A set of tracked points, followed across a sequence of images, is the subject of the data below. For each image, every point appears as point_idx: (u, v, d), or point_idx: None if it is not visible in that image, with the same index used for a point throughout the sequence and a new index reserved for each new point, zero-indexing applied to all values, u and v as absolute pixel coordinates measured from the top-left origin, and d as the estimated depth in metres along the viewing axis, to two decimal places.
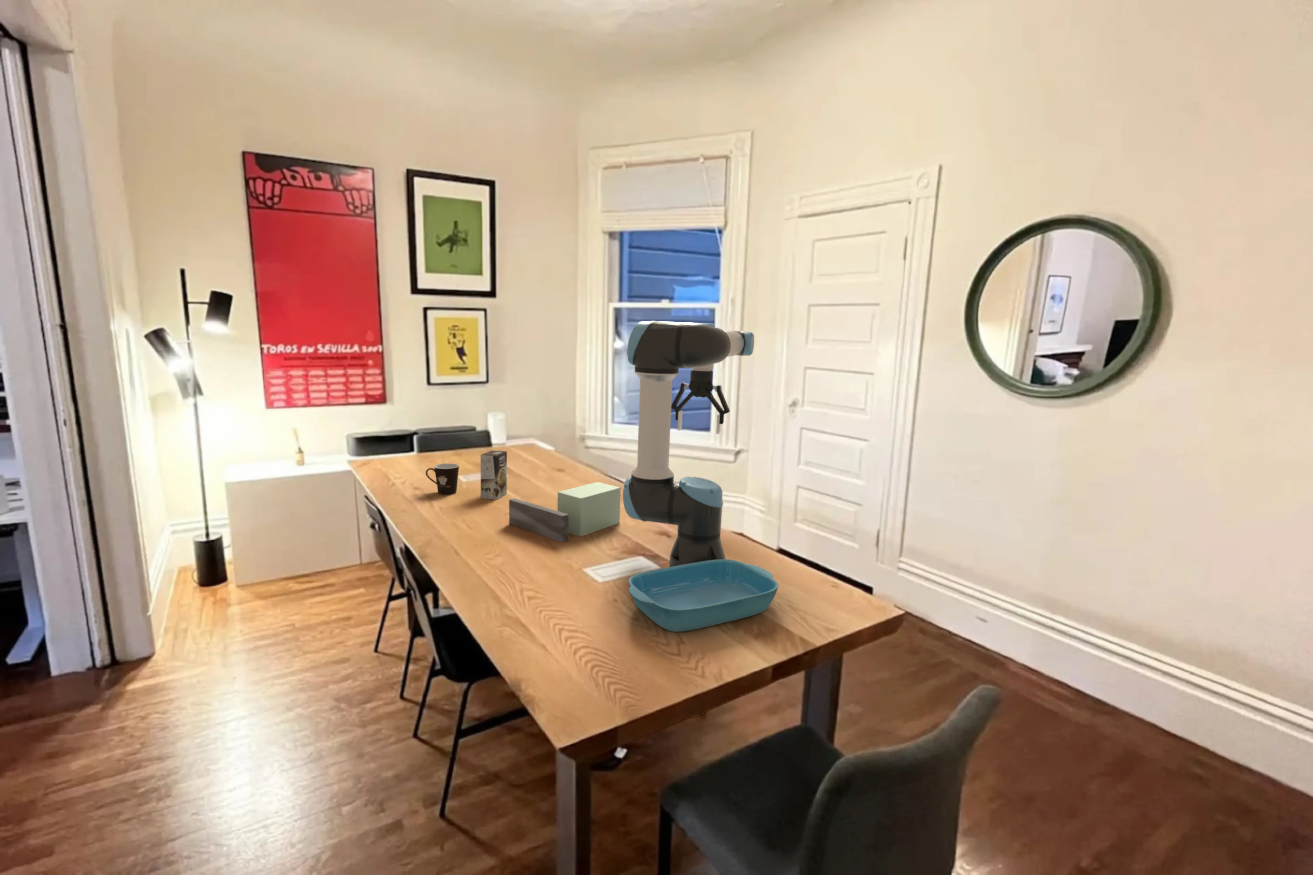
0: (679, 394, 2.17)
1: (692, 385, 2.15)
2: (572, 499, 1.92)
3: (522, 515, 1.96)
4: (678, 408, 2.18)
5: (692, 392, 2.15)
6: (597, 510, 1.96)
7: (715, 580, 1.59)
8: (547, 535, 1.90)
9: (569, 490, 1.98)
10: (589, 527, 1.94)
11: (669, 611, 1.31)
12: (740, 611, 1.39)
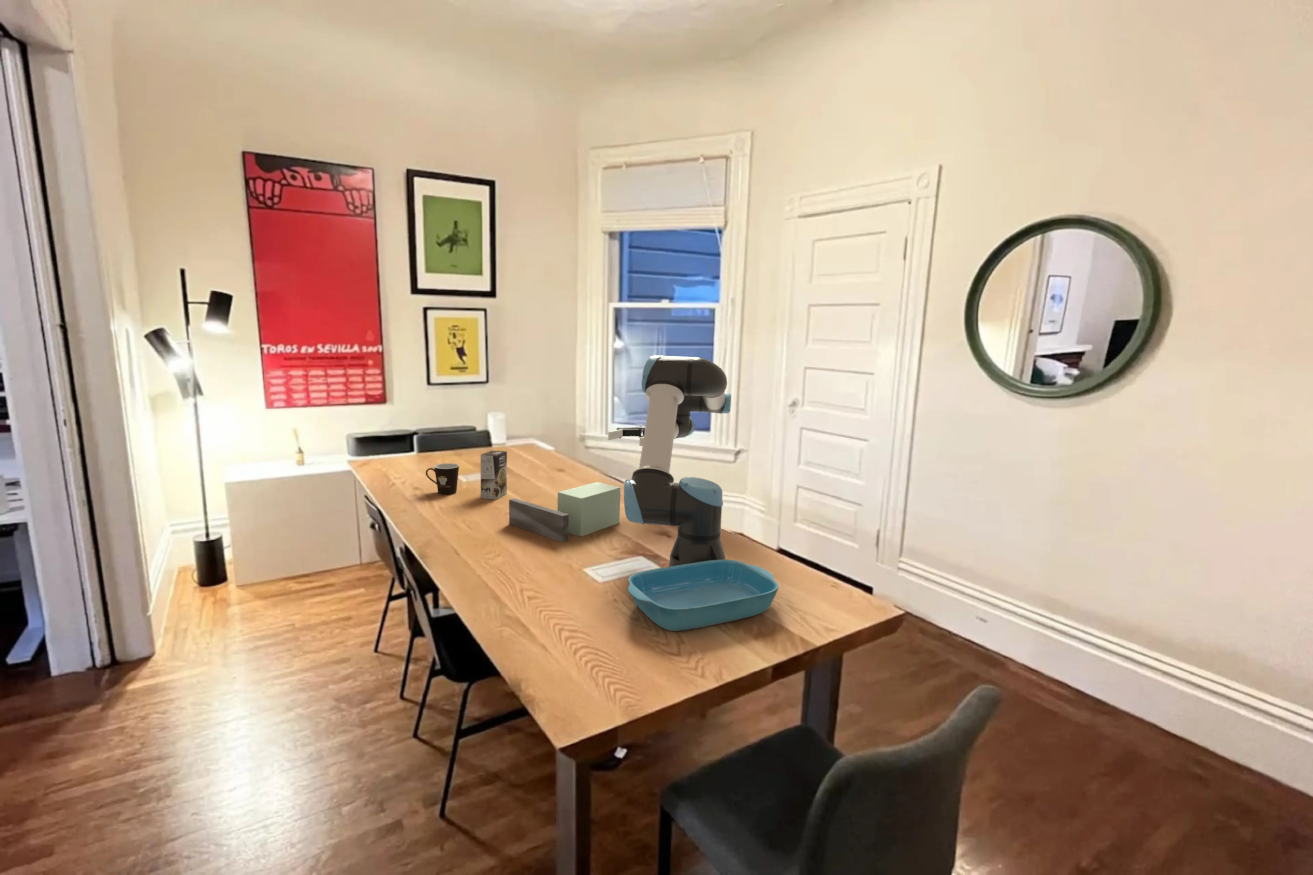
0: (632, 427, 2.23)
1: None
2: (572, 499, 1.92)
3: (522, 515, 1.96)
4: (622, 429, 2.19)
5: (644, 427, 2.21)
6: (598, 510, 1.96)
7: (717, 580, 1.59)
8: (547, 535, 1.90)
9: (569, 490, 1.98)
10: (589, 527, 1.94)
11: (666, 610, 1.31)
12: (738, 611, 1.39)
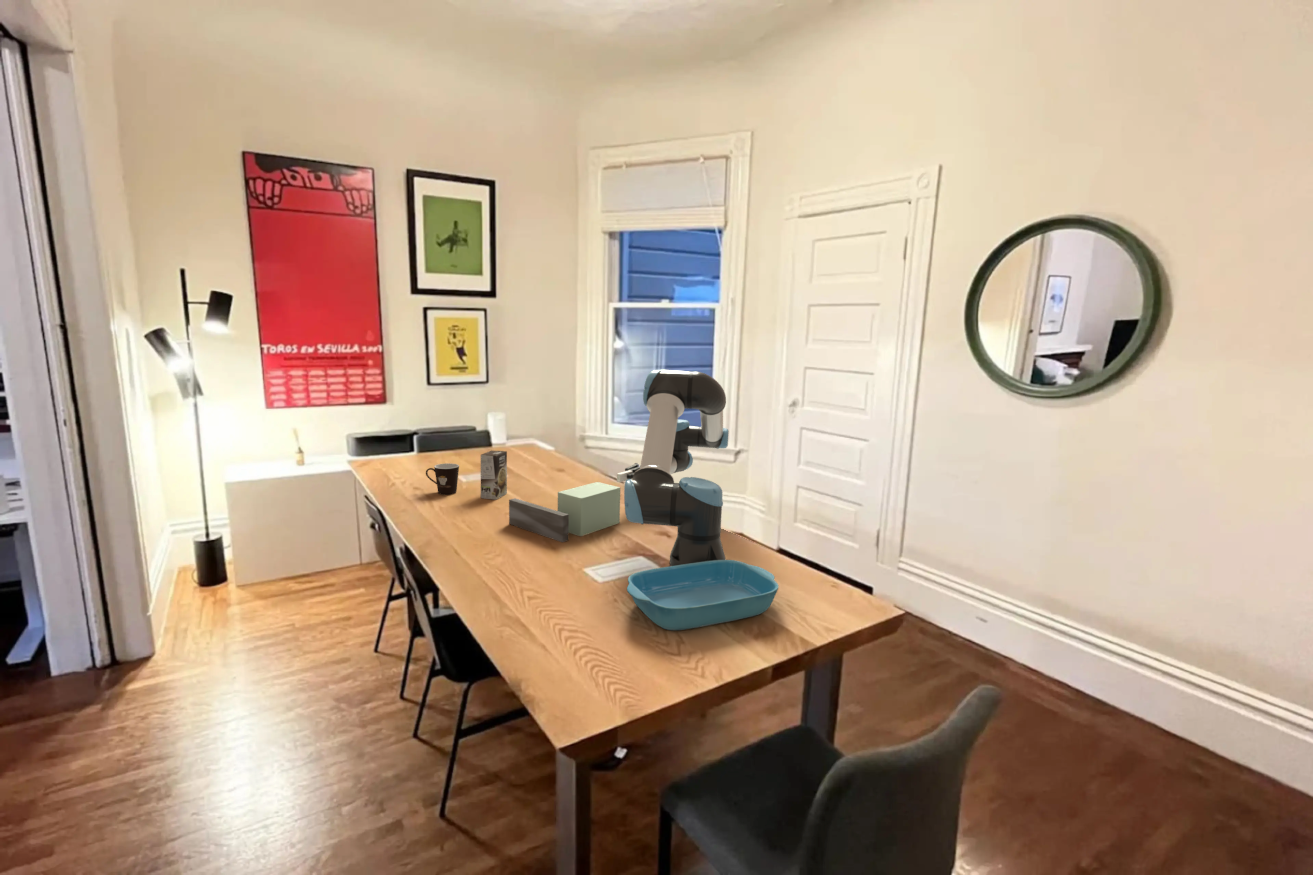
0: (633, 465, 2.23)
1: None
2: (572, 499, 1.92)
3: (522, 515, 1.96)
4: (631, 469, 2.17)
5: None
6: (598, 510, 1.96)
7: (718, 581, 1.58)
8: (547, 535, 1.90)
9: (569, 490, 1.98)
10: (589, 527, 1.95)
11: (664, 609, 1.31)
12: (737, 612, 1.39)
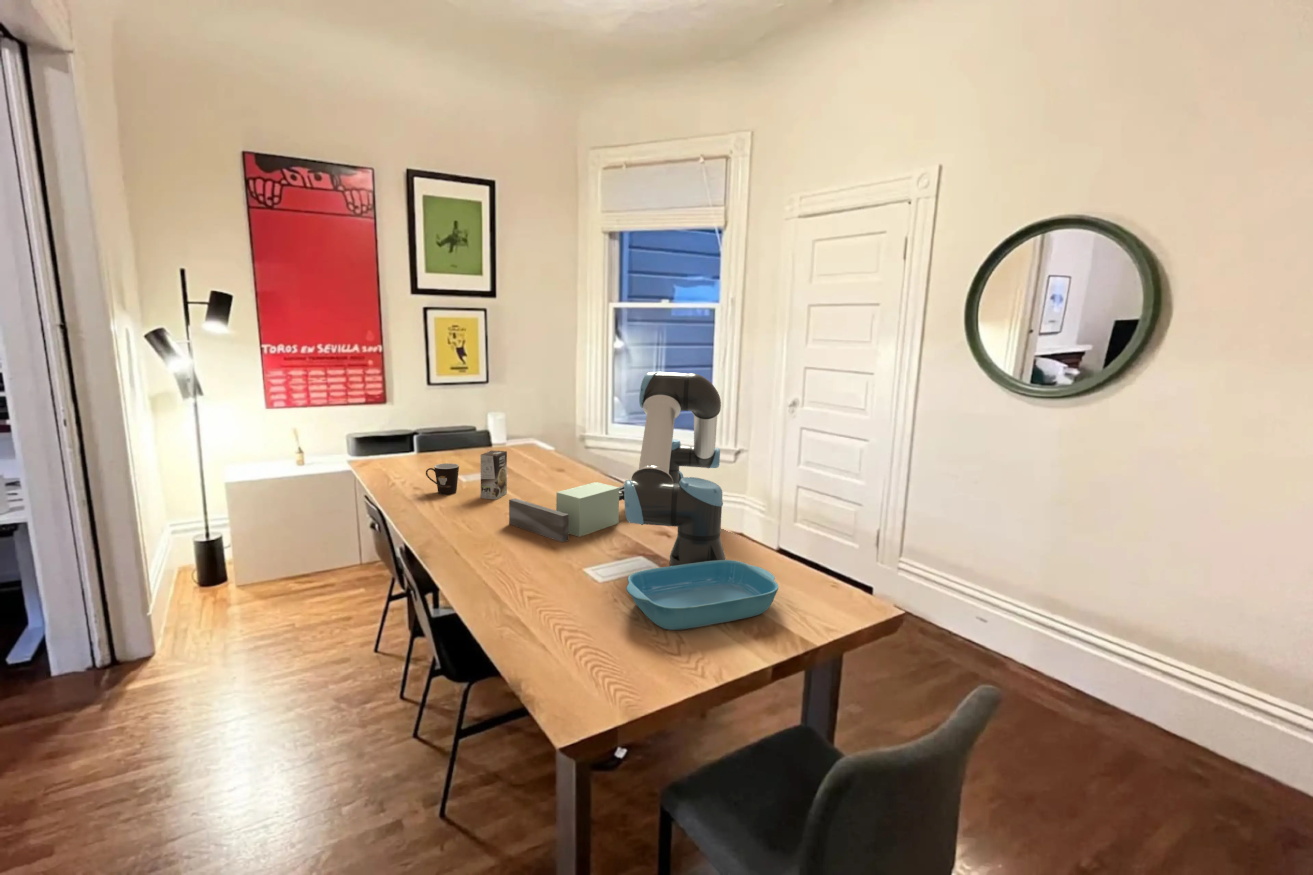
0: (623, 486, 2.20)
1: None
2: (571, 499, 1.91)
3: (522, 515, 1.96)
4: (620, 490, 2.14)
5: None
6: (596, 510, 1.96)
7: (718, 581, 1.58)
8: (547, 535, 1.90)
9: (568, 490, 1.97)
10: (588, 527, 1.94)
11: (663, 609, 1.32)
12: (737, 612, 1.38)
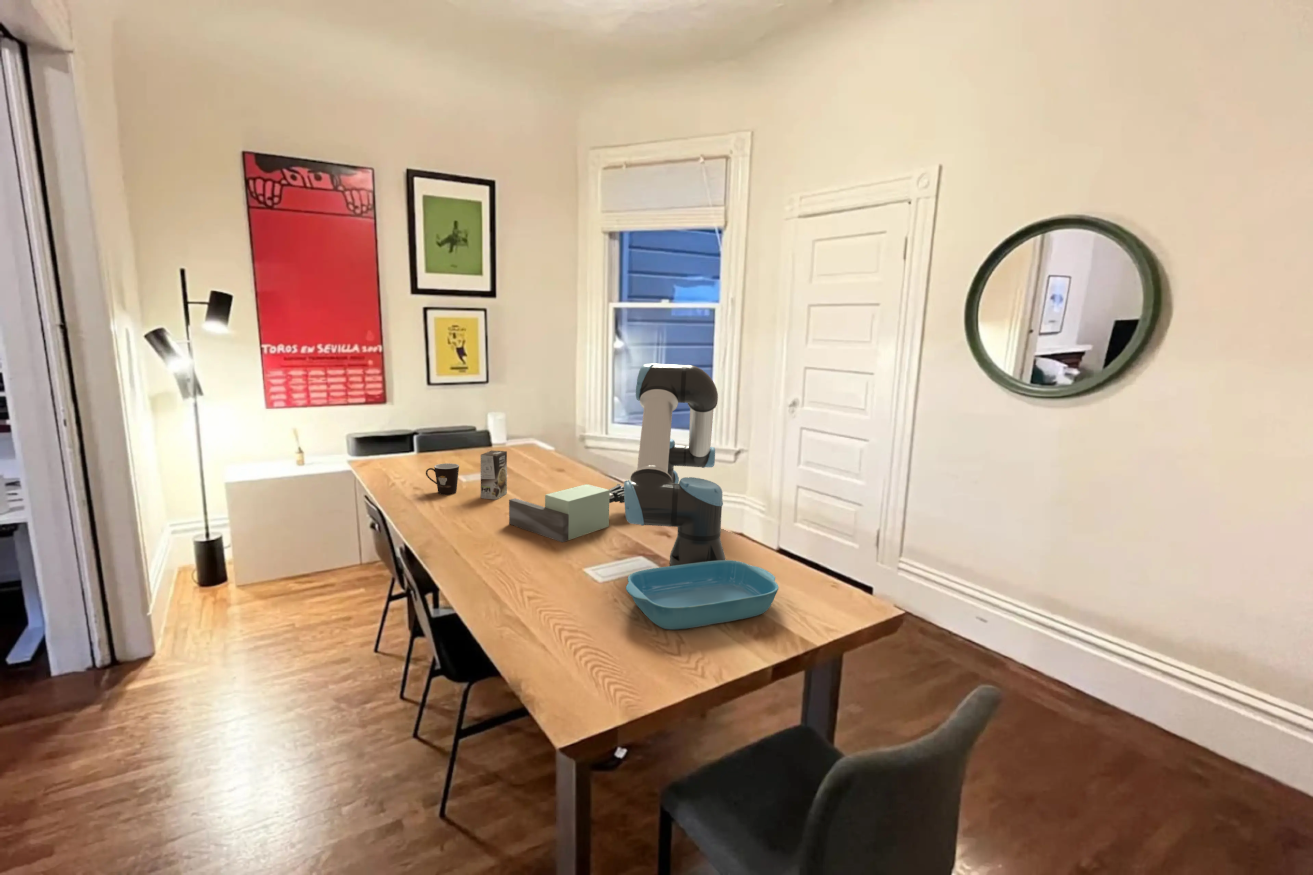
0: (615, 487, 2.16)
1: None
2: (559, 502, 1.88)
3: (522, 515, 1.96)
4: (611, 492, 2.10)
5: None
6: (586, 513, 1.93)
7: (719, 581, 1.58)
8: (547, 535, 1.90)
9: (557, 493, 1.94)
10: (577, 531, 1.91)
11: (661, 608, 1.32)
12: (736, 612, 1.38)
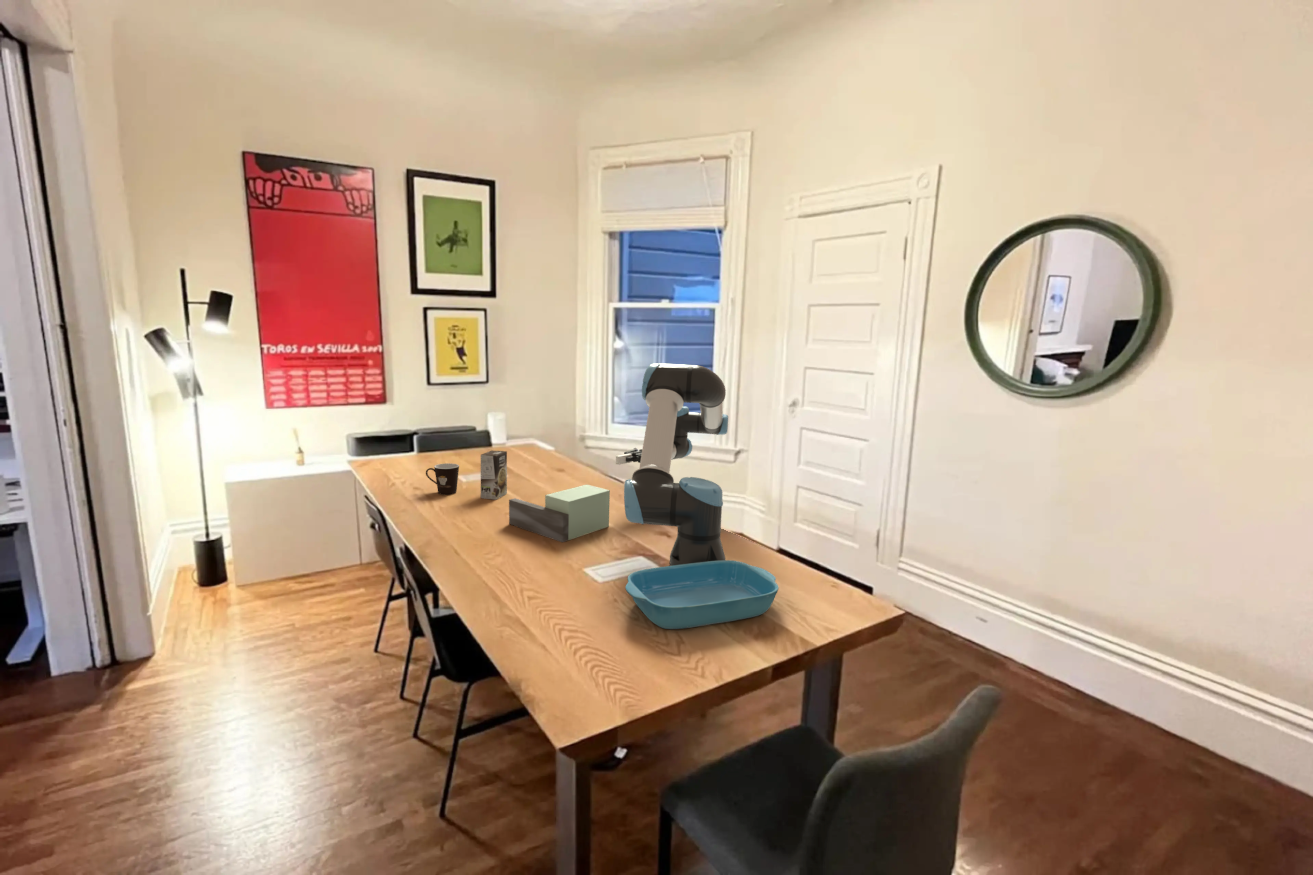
0: (632, 450, 2.21)
1: None
2: (560, 502, 1.88)
3: (522, 515, 1.96)
4: (630, 453, 2.15)
5: None
6: (586, 513, 1.93)
7: (720, 581, 1.58)
8: (547, 535, 1.90)
9: (557, 493, 1.94)
10: (577, 531, 1.91)
11: (660, 608, 1.32)
12: (735, 612, 1.38)
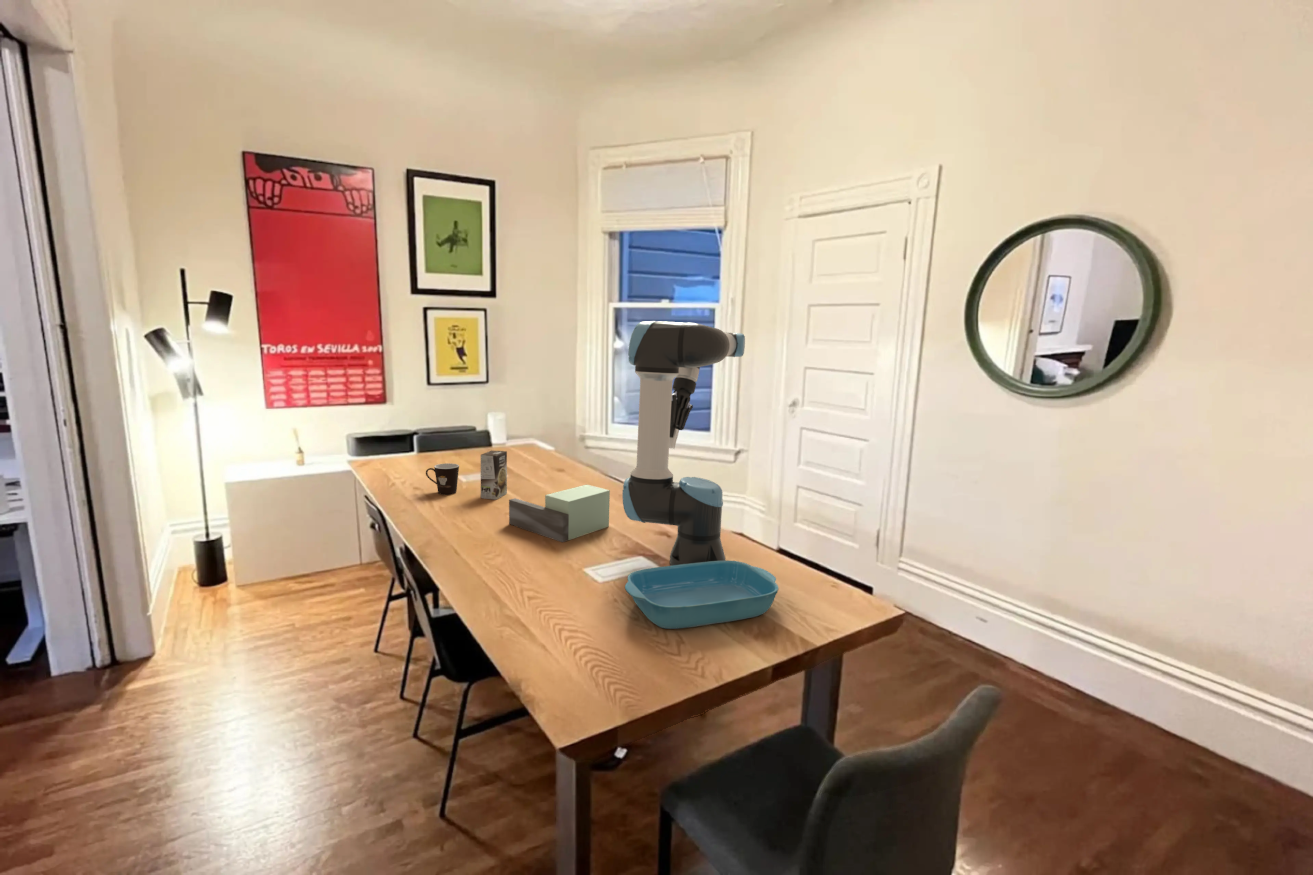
0: (675, 407, 2.07)
1: (680, 392, 2.09)
2: (560, 502, 1.88)
3: (522, 515, 1.96)
4: (676, 424, 2.09)
5: (682, 402, 2.10)
6: (586, 513, 1.93)
7: (721, 581, 1.58)
8: (547, 535, 1.90)
9: (557, 493, 1.94)
10: (578, 531, 1.91)
11: (658, 607, 1.32)
12: (734, 612, 1.38)
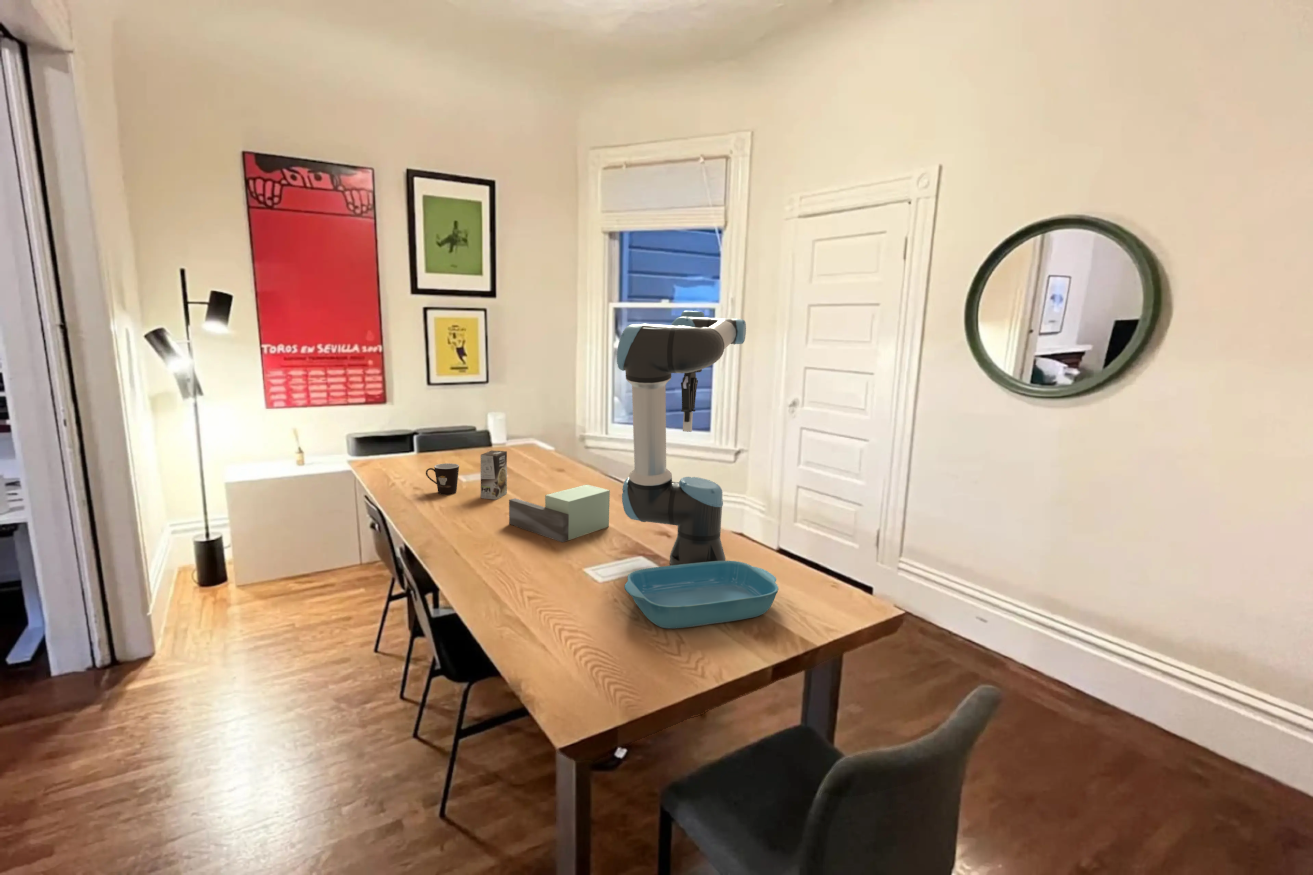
0: (689, 394, 2.03)
1: (690, 376, 2.03)
2: (560, 502, 1.88)
3: (522, 515, 1.96)
4: (691, 408, 2.07)
5: (693, 385, 2.05)
6: (586, 513, 1.93)
7: (721, 581, 1.58)
8: (547, 535, 1.90)
9: (557, 493, 1.94)
10: (578, 531, 1.91)
11: (657, 607, 1.32)
12: (734, 612, 1.38)
